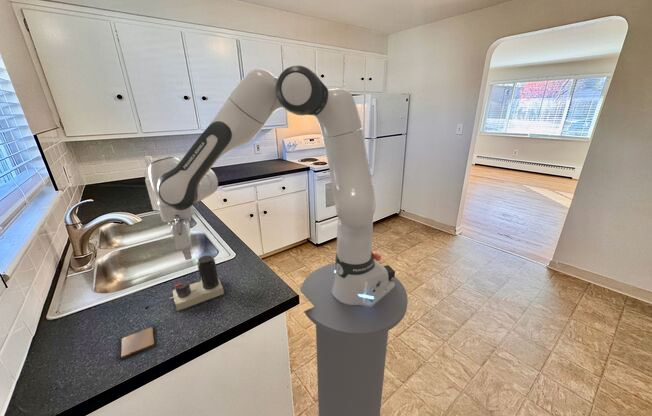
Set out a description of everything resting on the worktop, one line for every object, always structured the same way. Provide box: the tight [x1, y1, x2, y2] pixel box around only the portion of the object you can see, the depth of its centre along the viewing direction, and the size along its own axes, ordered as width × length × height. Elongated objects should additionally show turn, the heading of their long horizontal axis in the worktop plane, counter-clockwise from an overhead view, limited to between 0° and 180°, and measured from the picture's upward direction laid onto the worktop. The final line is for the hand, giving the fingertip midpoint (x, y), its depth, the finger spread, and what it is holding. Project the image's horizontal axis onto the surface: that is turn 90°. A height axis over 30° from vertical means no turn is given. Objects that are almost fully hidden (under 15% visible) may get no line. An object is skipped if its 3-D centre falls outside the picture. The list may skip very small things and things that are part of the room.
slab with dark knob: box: [169, 277, 225, 312], centre depth 87 cm, size 15×8×3 cm, turn 124°
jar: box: [196, 254, 220, 290], centre depth 87 cm, size 5×5×10 cm
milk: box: [144, 173, 159, 212], centre depth 158 cm, size 6×6×22 cm
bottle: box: [144, 155, 153, 179], centre depth 166 cm, size 8×8×30 cm
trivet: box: [120, 326, 155, 359], centre depth 71 cm, size 7×7×1 cm
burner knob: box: [174, 280, 191, 298], centre depth 84 cm, size 4×4×4 cm
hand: (188, 253), depth 85 cm, fingers open, 8 cm apart
